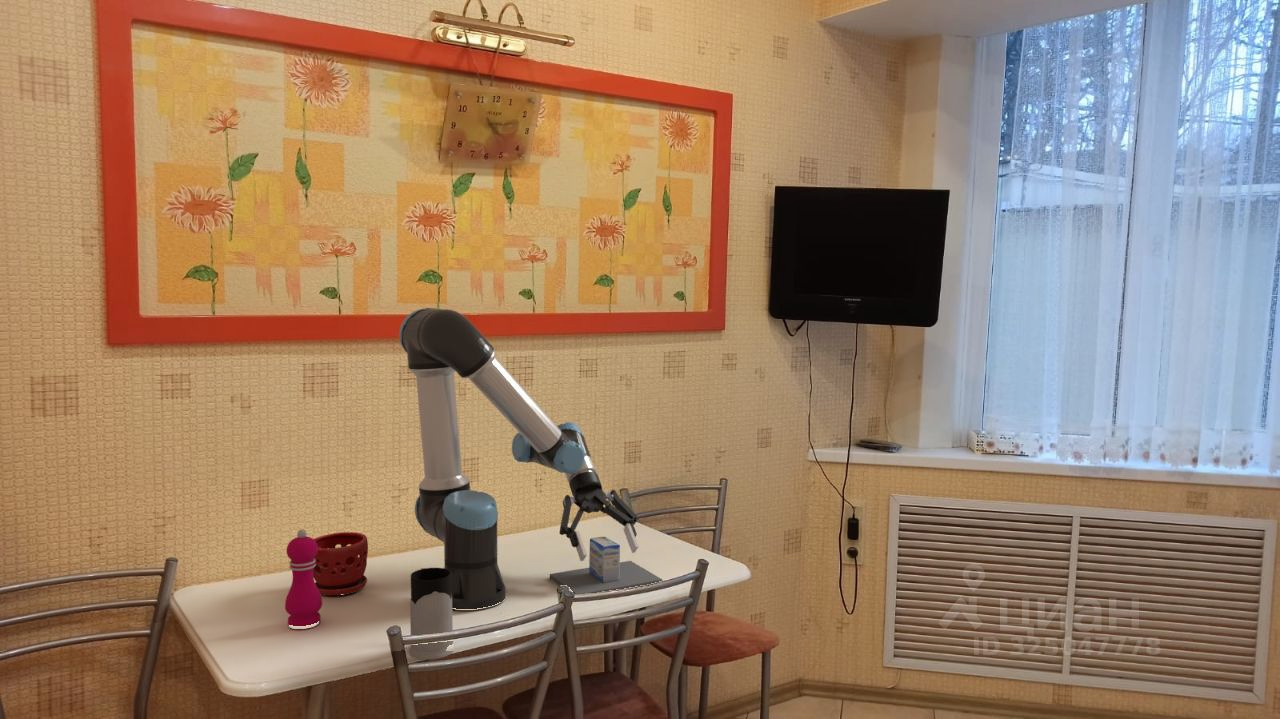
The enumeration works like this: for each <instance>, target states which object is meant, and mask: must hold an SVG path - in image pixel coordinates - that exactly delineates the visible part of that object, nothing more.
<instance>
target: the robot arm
mask: <svg viewBox="0 0 1280 719" xmlns="http://www.w3.org/2000/svg"><path fill="white" fill-rule="evenodd" d="M479 330H480V329H478V328H477V327H476V326H475V325H474V324H473V323H472V322H471V320H469V319H468V318H467V317H466V316H465V315H463V314H462V313H459V312H458V311H455V310H452V309H445V308H436V307H425V308H420V309H417V310H414V311H412V312H411V313H409V314H408V315H407V316H406V317H405V319H403V321H402V323H401V325H400V327H399V333H398V334H399V335H398V338H399V342H400V345H401V347H402V349H403V351H404V352H405V353H406V354H407V355H406V356H407V365H408V367H407V368H408V370H409V371H410V372H411V374H413V375H414V376H415V378H416V389H417V390H416V391H417V402H418V403H417V404H418V414H419V424H420V436H421V447H422V448H421V449H422V458H423V459H422V460H423V471H424V478H423V479H422V480H421V481H420V482H419V484H418V490H419V491H418V492H419V495H418V497H416V500H415V504H414V514H415V515H414V516H415V519H416V520H417V523H418V525H419V526H420V527H421V528H422V530H424V531H425V532H426V533H427V534H429V535H430V536H432V537H434V538H436V539H438V540H439V541H441V542H442V543H443V545H444V547H443V550H444V551H443V552H444V553H443V555H444V556H443V557H444V562H443V563H444V567H443V568H444V569H447V570H449V571H450V572H451V594H452V608H456V609H477V608H483V607H488V606H492V605H495V604H497V603H499V602H502V601H503V600H504V599H505V600H506V598H505V597H506V596H507V595H506V594H507V593H506V585H505V582H504V578H503V576H502V573H501V570H500V567H499V563H498V518H499V512H498V508H497V502H496V499H495V498H494V496H492V495H491V494H488V493H487V492H483V491H478V490H473V489H471V484H470V483H471V482H470V478H469V477H468V476H467V475H465V474H464V473H463V467H462V454H461V442H460V429H459V418H458V417H459V416H458V407H457V405H458V404H457V392H456V378H455V372H456V373H457V375H459V376H460V378H462V379H469V381H471V382H472V384H473V385H475V387H476V388H477V389H478V390H479V391H480V392H481V393H482V394H483V395H484V397H486V398H487V400H488V401H489V402H490V403H491V404H492V405H493V407H494V408H496V409H497V410H498V411H499V413H500V414H501V415H503V417H504V418H505V419H506V420H507V421H508V423H509V424H511V425H512V426H513V427H514V429H515V430H517V433H515V435H514V436H513V439H512V441H511V442H512V443H511V452H512V453H511V454H512V456H513V458H514V460H515V461H516V462H519V463H526V464H528V463H536V464H538V465H541V466H543V467H547V468H549V469H552V470H554V471H557V472H558V473H561V474H565V476H566V479H567V482H568V485H569V489H570V493H571V494H572V496H570V494H566V495H565V496H564V498H563V500H562V507H563V510H562V517H561V521H560V522H561V523H560V527H559V534H560V535H561V536H563V535H565V536H566V538H568V539H569V542H570V544H571V547H573V548H575V549H576V552H577V555H578V558H579V560H580V562H582V561H585V559H586V557H587V556H588V553H587V551H586V548H585V545H584V542H583V540H582V537H581V533H580V531H579V530H576V529H577V526H578V525H579V522H580V520H581V519H582V516H583V515H584V513H587V514H591V513H599V512H601V513H603V514H606V515H608V516H609V517H611V518H612V519H613V520H614V521H616V522H618V523H619V524H620V525H622V526H623V527H624V528H623V532H624V535H625V538H626V541H627V543H628V546H629V549H630V551H631V554H632V553H636V551H637V550H638V549H639V547H640V546H639V543H638V541H637V539H636V536H637V534H638V533H637V530H636V528H635V526H634V525H636V523H637V522H638V520H639V516H638V515H637V514H636V513H635V512H634V511H633V510H632V509H631V508H630V507H629V506H628V505H627V504H626V503H625V502H624V501H623V500H622V498H621V497H620V496H619V494H618V492H617V491H616V490H615V489H611V491H608V492H605V491H604V490H603V486H602V483H601V480H600V477H599V475H598V473H597V469H596V467H595V463H594V461H593V459H592V457H591V454H590V450H589V448H588V445H587V442H586V438H585V436H584V434H583V432H582V430H581V428H580V427H579V425H578V424H577V423H575V422H572V421H566V422H565V423H560V424H558V425H556V423H555V421H553V420H552V418H551V417H549V415H548V414H547V413H546V412H545V411H544V409H543V408H542V407H541V406H540V405H539V404H538V403H537V401H535V399H533V397H532V396H531V395H530V394H529V393H528V392H527V390H526V389H524V387H523V386H522V385H521V384H520V383H519V382H518V380H517V379H516V378H515V377H514V376H513V374H512V373H510V372H509V371H508V368H506V367H505V366H504V365H503V364H502V363H501V361H500V360H499V359H498V357H496V355H495V354H496V353H495V352H496V350H495V347H494V346H493V345H492V344H491V343H490V341H488V340H487V338H486V337H485V336H484V335H483V334H482V333H481V332H480V331H479ZM573 504H575V505H576V506H577V507H578V511H577V512H576V515H575V517H574V519H573V521H572V523H571V524H570V526H569V520H570V514H571V508H572V506H573ZM604 506H605V507H604ZM505 600H504V601H505ZM504 601H503V602H504ZM503 602H502V603H503Z"/></svg>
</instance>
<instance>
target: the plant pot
mask: <svg viewBox="0 0 1280 719" xmlns="http://www.w3.org/2000/svg"><path fill="white" fill-rule="evenodd" d="M313 539H314V540H315V541H316V543H317V546H318V552H317V554H316V555H315V557H314V559H315V560H316V561H315V564H316V566H315V567H314V568H313V578H314V582H315V584H316V586H317V588H318V590H319V592H320V594H321V595H322V594H324V595H323V596H326V595H341V594H347V595H349V594H348V593H351V594H353V593H352V592H354V593H356V592H358V591H360V590H362V589H363V588H364V587H365V585H366V584H367V582H368V578H367V576H366V575H364V574H365V572H366V568H367V565H368V553H369V542H368V536H366V535H365V534H363V533H361V532H351V531H350V532H349V531H346V532H345V531H344V532H343V531H342V532H334V533H328V534H323V535H321V536H317V537H314V538H313ZM337 545H340V547H336V546H337ZM361 588H362V589H361ZM355 591H356V592H355Z"/></svg>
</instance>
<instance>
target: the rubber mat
mask: <svg viewBox="0 0 1280 719" xmlns="http://www.w3.org/2000/svg"><path fill="white" fill-rule="evenodd" d="M549 579H550V580H551V581H553V582H554V583H555V584H557V585H558V586H560V585H567V586H568V587H570V589H571V590H572V591H573V593H574V594H585V593H597V592H602V591H609V590H616V589H624V588H629V587H635V586H640V585H647V584H651V583H655V582H659V581H662V582H663V579H662V578H661V577H659V576H657V575H656V574H653V573H652V572H650V571H649V570H647V569H646V568H644V567H642V566H640V565H639V564H637V563H636V562H633V561H632V560H625V561H620V579H619V580H616V581H610V582H602V581H601V580H599V579H598V578H596V577H595V576H593V575H591V574H590V573H589V567H584V568H578V569H572V570H565V571H559V572H553V573H550V574H549Z"/></svg>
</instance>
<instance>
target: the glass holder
mask: <svg viewBox="0 0 1280 719" xmlns="http://www.w3.org/2000/svg"><path fill="white" fill-rule="evenodd" d="M409 602H410V603H409V606H410V609H409V612H410V613H409V614H410V620H409V621H410V636H411V635H422V634H433V633H443V632H451V631H453V626H454V625H453V610H452V594H451V572H450V571H449V570H447V569H444V567H422V568H420V569H417V570H415V571H413V572H412V573H410V599H409ZM453 632H454V631H453ZM453 643H454V640H453V641H447V642H437V643H428V644H418V645H411V644H410V647H409V648H408V655H409V656H410V657H413V658H414V659H417V660H418V659H419V660H436V659H441V658H445V657H447V656H449V655H451V654H453V653H454V652H455V650H454V651H446V649H447V647H448V646H449V645H452V644H453Z"/></svg>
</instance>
